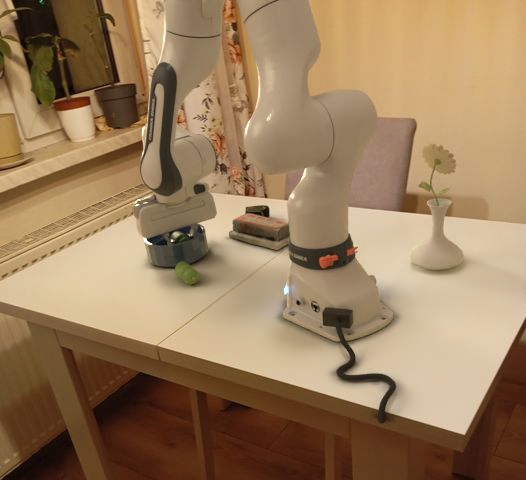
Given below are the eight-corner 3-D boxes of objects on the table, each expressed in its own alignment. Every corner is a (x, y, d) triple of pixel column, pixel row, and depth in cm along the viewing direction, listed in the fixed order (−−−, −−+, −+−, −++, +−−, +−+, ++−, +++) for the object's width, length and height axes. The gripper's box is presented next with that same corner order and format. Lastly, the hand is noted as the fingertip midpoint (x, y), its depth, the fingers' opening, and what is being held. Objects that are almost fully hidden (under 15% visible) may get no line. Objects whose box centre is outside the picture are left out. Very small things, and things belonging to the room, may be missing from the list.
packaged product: (225, 220, 149) (251, 208, 154) (227, 238, 151) (253, 225, 157) (275, 233, 137) (302, 219, 143) (277, 251, 140) (303, 237, 146)
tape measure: (270, 215, 162) (269, 202, 160) (269, 224, 156) (268, 210, 154) (246, 217, 163) (244, 205, 161) (245, 226, 157) (243, 213, 155)
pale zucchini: (204, 285, 129) (201, 269, 127) (189, 290, 127) (186, 275, 125) (188, 272, 136) (185, 257, 134) (174, 277, 134) (170, 262, 132)
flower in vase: (474, 267, 121) (485, 146, 108) (425, 279, 119) (431, 158, 106) (441, 246, 132) (447, 134, 118) (396, 256, 130) (397, 144, 116)
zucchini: (199, 254, 141) (196, 238, 139) (184, 259, 140) (181, 243, 138) (183, 242, 149) (180, 227, 147) (169, 247, 148) (165, 231, 145)
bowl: (218, 256, 142) (214, 233, 139) (162, 274, 136) (157, 251, 133) (193, 239, 153) (189, 217, 150) (140, 255, 148) (135, 234, 144)
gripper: (135, 204, 130) (148, 260, 138) (214, 182, 138) (223, 236, 145) (126, 198, 135) (139, 252, 142) (203, 177, 142) (212, 229, 150)
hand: (182, 244), depth 144 cm, fingers closed on zucchini, 4 cm apart
